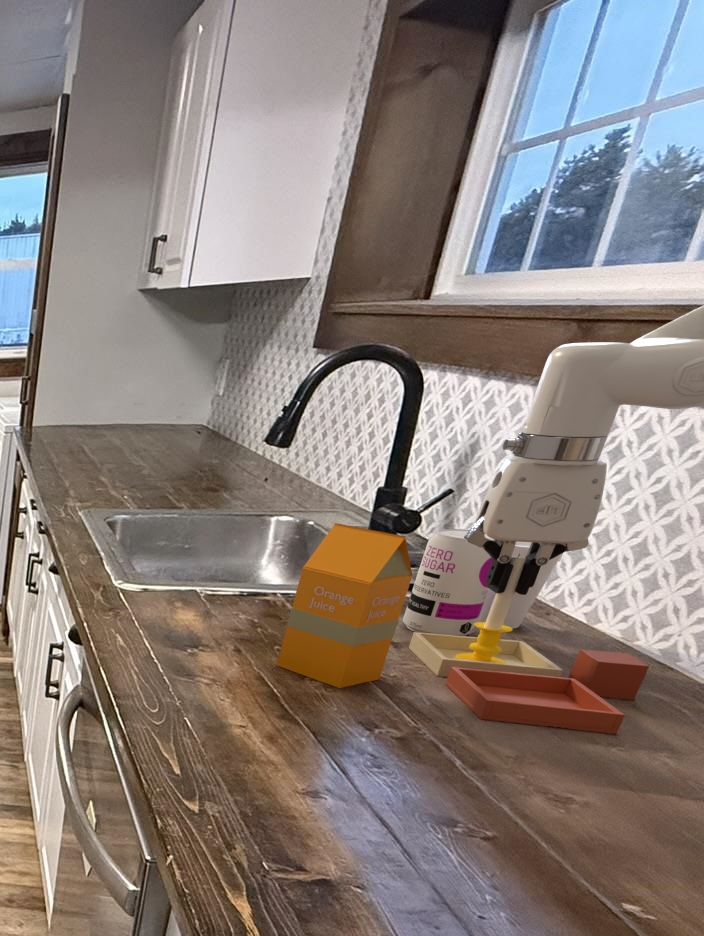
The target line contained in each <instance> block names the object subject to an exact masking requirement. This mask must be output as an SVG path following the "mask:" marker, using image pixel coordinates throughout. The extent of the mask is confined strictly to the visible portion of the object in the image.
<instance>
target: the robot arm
mask: <svg viewBox="0 0 704 936" xmlns="http://www.w3.org/2000/svg"><path fill="white" fill-rule="evenodd" d="M624 405H625V406H638V407H649V408H656V409H664V410H683V409H692V408H695V407H699V406H700V407H701V406H703V405H704V305H702V306H700V307H697V308H695V309H693V310H691V311H689V312H687V313H685V314H683V315H681V316H679V317H677V318H675V319H673V320H671V321H670V322H667V323H665V324H663V325H662V326H660V327H657V328H656V329H654V330H652V331H650V332H648V333H645V334H644V335H642V336H641V337H639V338H636V339H635V340H633V341H632V342H629V343H628V342H613V341H612V342H608V341H605V342H603V341H602V342H601V341H599V342H595V341H594V342H572V343H571V342H570V343H565V344H561V345H560V346H557V347H555V348H554V349H553V350H552V351H551V352H550V353H549V355H548V357H547V359H546V361H545V364H544V367H543V370H542V373H541V375H540V379H539V381H538V384H537V386H536V390H535V393H534V396H533V398H532V402H531V404H530V407H529V410H528V413H527V416H526V419H525V422H524V425H523V428H522V429H521V432H519V433H518V436H517V437H515V438H507V439H505V440H504V441H503V443H502V450H503V451H510V452H512V453H511V454H512V455H513V456H512V457H507V458H505V460H504V461H503V463H502V465H501V466H500V467H499V469H498V470H497V473H496V474H495V476H494V477H493V480H492V481H491V483H490V485H489V486H488V489H487V491H486V493H485V496H484V498H483V500H482V503H481V505H480V507H479V510H478V513H477V514H476V518H475V522H474V525H472V527H470V529H468V530H469V532H468V533H467V534H466V535H465V536H464V540H465V541H467V542H469V543H471V544H474V545H476V546H479V547H482V548H484V550H485V551H486V552H487V553H488V554H489V555H490V557H491V558H493V560H492V563H491V566H490V569H489V572H488V574H487V577H486V584H488V585H487V587H488V588H489V589H491V590H492V591H494V592H495V593H502V592H504V591H505V589H506V586H507V583H508V580H509V578H510V575H511V572H512V569H513V564H511V563H510V562H511V557H512V554H513V551H514V548H515V544H516V542H532V543H531V545H530V548H529V550H528V553H527V555H526V557H525V558H526V560H525V563H524V567H523V570H522V573H521V576H520V579H519V581H518V584H517V587H516V590H515V592H517V593H518V594H520V595H526V594H527V592H528V589H529V587H533V586H534V583H535V581H536V578H537V575H538V573H539V570H540V567H541V566H543V565H545V564H547V563H548V561H549V560H551V559H553V558H555V557H556V556H558V555H560V554H562V553H563V554H564V553H567V552H568V553H569V552H574V551H578V550H582V549H586V548H588V546H589V537H590V536H591V534H592V532H593V529H594V526H595V523H596V520H597V518H598V514H599V510H600V506H601V502H602V499H603V494H604V490H605V484H606V478H607V468H608V467H607V466H608V464H607V462H604V461H600V460H599V459H600V458H601V456H602V453H603V449H604V447H605V445H606V443H607V440H608V436H609V435H610V432H611V429H612V427H613V424H614V421H615V418H616V417H617V414H618V411H619V408H620V407H621V406H624ZM485 534H487V536H488V537H490V538H492V539H494V541H493V540H491V539H488V538H485V537H484V535H485Z"/></svg>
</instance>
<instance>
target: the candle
mask: <svg viewBox="0 0 704 936" xmlns="http://www.w3.org/2000/svg"><path fill="white" fill-rule="evenodd" d="M519 556H520V553H519V555H518V557H511V562H510V563H511V564H513V569H512V572H511V575H510V578H509V580H508V583H507V586H506V589H505V591H504V592H502V593H496V596H495V598H494V601H493V604H492V607H491V609H490V612H489V615H488V617H487V620H486V622H476V623H474V626H475V628H478V629H479V634H478V635H477V637H478V639H477V643H471V644H470V646H469V647H470V648H471V649H472V650H474V652H473V653H460V654H457V655H456V656H455V659H462V660H473V661H484V662H495V663H505V664H507V663H506V662H504V661H503V660H501V659H498V658H495V657H493V654H498V653H500V652H501V650H502V649H501V648H500V647H498V646H497V645H498V643H499V641H500V639H501V637H502V636H503V634H504V633H511V632H513V631H514V628H511V627H508V626H505V625H503V623H504V620H505V618H506V615H507V612H508V609H509V606H510V604H511V601H512V598H513V595H514V592H515V590H516V587H517V584H518V581H519V579H520V576H521V573H522V570H523V567H524V563H525V560H526V558H521V557H519Z"/></svg>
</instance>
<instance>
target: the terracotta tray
mask: <svg viewBox="0 0 704 936" xmlns="http://www.w3.org/2000/svg"><path fill="white" fill-rule="evenodd" d="M444 685H445V686H446V687H447V688H449V689H450V690H451V691H452V692H453V694H455V695H456V696H457V698H459V699H460V701H462V702H463V703H464V704H465V705H466V707H468V708H469V709H470V710H471V711H472V712H473V713H474V714H475V715H476V716H477V717H478V718H479V719H480V720H487V721H494V722H503V723H505V722H506V723H512V724H521V725H531V726H538V727H539V726H540V727H548V726H551V727H550V728H557V727H561V728H560V729H566V728H567V729H568V730H575V731H576V730H577V731H582V732H583V731H584V732H593V733H602V734H611V735H617V734H618V732H619V730H620V727H621V726H622V723H623V722H624V721H623V720H624V719H625V716H626V714H624V713H623V712H622V711H620V710H619V709H618V708H616V707H615V706H613V705H612V704H610V703H609V701H607V700H605V699H604V698H603V697H600V696H598V695H597V694H595V693H594V692H593V691H591V690H590V689H588V688H587V687H586V686H584V685H583V684H582V683H580V682H579V681H577V680H576V679H574V678H568V677H565V676H564V677H563V676H561V677H553V676H543V675H532V674H522V673H511V672H501V671H490V670H480V669H469V668H459V667H451V669H450V672H449V675H448V677H446V680H445V683H444ZM552 726H553V727H552Z"/></svg>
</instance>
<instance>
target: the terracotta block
mask: <svg viewBox="0 0 704 936" xmlns="http://www.w3.org/2000/svg"><path fill="white" fill-rule="evenodd" d="M649 668H650V666H649V665H648V664H646V663H645V662H643V661H642V660H639V659H638V658H636V657H635V656H633V655H631V654H630V653H628V652H617V651H607V650H606V651H604V650H596V649H595V650H594V649H584V648H583V649H582V648H580V649H579V650H578V654H577V656H576V658H575V661H574V662H573V664H572V668H571V670H570V672H569V675H568V677H567V678H574V679H576V680H577V681H579V682H580V683H582V684H583V685H584V686H586V687H587V688H588V689H590V690H591V691H593V692H594V693H595V694H597V695H598V696H601V698H608V697H609V698H610V699H618V700H628V701H635V699H636V696H637V694H638V692H639V690H640V688H641V685H642V684H643V681H644V679H645V676H646V674H647V672H648V671H649Z"/></svg>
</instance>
